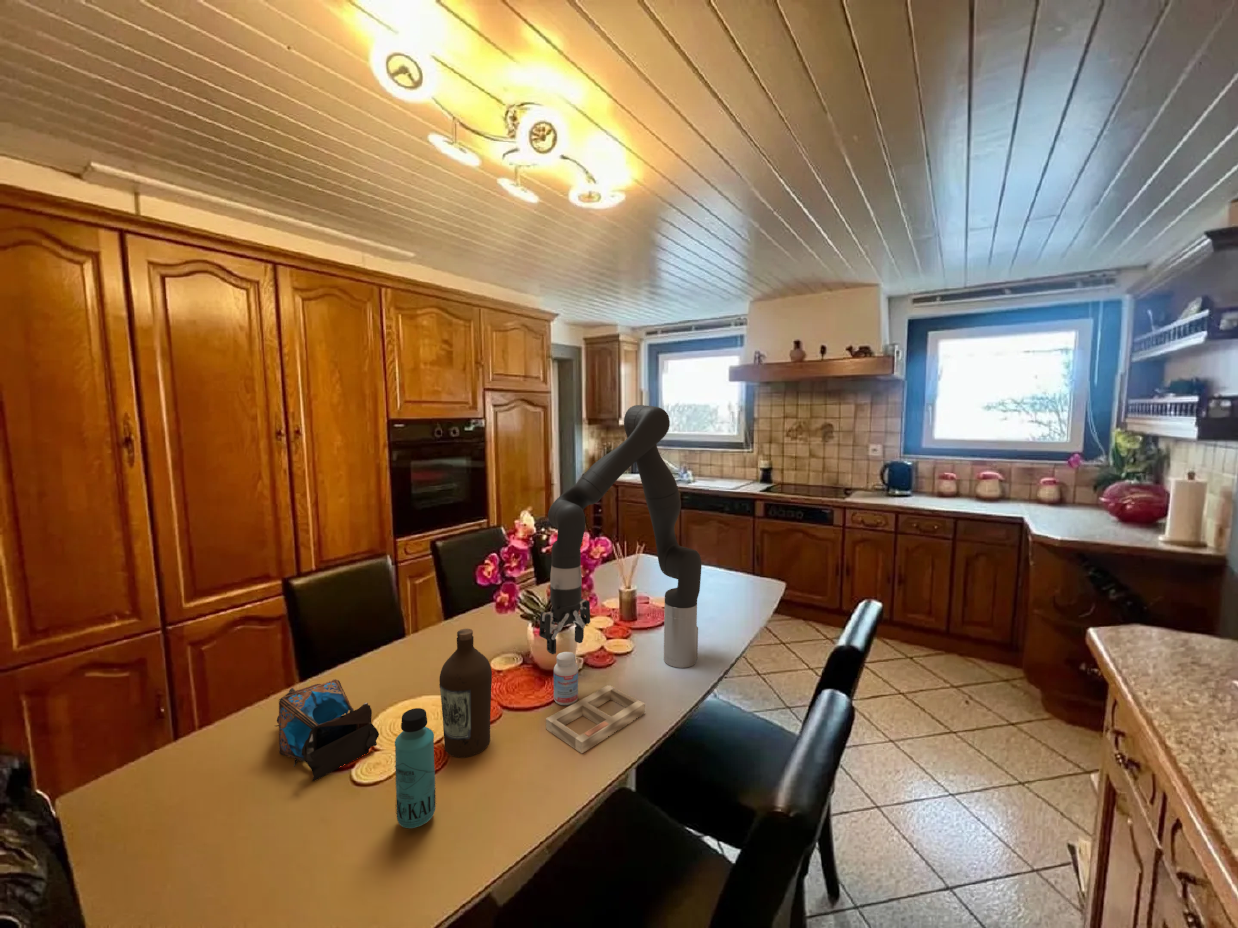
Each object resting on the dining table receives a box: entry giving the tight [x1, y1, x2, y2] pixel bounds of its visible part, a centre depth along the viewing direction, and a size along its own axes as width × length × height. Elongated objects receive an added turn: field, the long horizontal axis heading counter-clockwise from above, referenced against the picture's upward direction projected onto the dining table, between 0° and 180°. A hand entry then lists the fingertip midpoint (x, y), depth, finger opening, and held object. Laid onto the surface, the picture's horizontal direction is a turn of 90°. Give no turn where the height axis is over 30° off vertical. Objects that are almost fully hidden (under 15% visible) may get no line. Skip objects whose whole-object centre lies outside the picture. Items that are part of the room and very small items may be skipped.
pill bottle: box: [553, 651, 579, 706], centre depth 126 cm, size 6×6×11 cm
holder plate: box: [545, 684, 646, 754], centre depth 118 cm, size 20×12×3 cm, turn 136°
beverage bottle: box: [394, 707, 437, 829], centre depth 87 cm, size 6×7×20 cm
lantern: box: [275, 678, 380, 782], centre depth 108 cm, size 16×16×25 cm
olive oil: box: [438, 628, 493, 758], centre depth 108 cm, size 11×11×25 cm
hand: (565, 647), depth 125 cm, fingers open, 8 cm apart
